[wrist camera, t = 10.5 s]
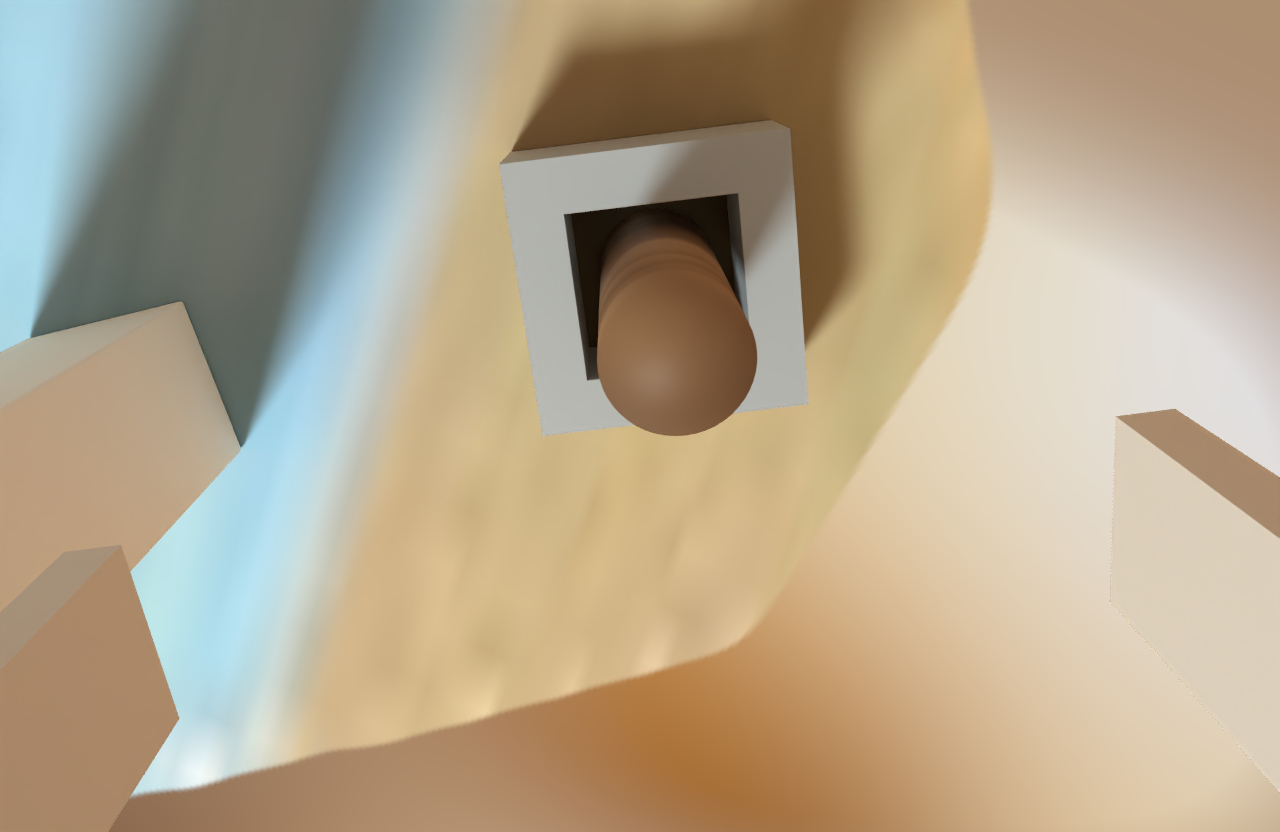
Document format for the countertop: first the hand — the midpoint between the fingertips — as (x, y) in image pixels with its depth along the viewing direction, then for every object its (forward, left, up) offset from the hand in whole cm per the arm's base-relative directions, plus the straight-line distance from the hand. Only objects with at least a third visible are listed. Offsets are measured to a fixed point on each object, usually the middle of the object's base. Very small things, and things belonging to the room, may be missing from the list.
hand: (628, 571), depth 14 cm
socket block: (+1, +1, -25) cm, 25 cm away
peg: (+1, +1, -25) cm, 25 cm away
